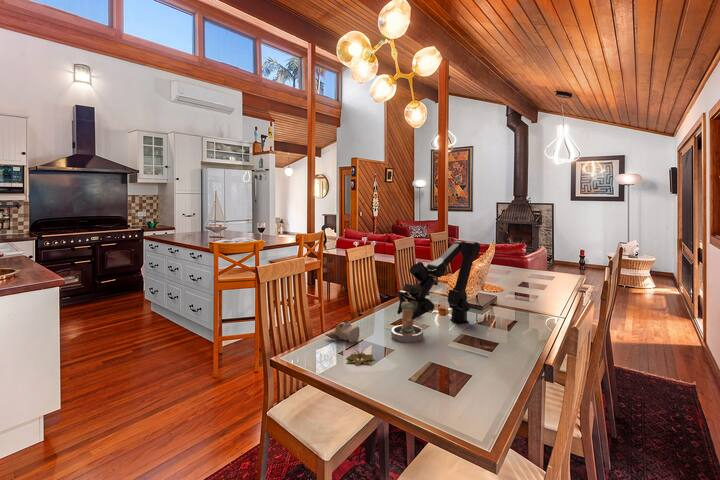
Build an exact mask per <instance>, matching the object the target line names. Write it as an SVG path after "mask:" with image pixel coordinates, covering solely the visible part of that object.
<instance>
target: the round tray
mask: <svg viewBox="0 0 720 480" xmlns="http://www.w3.org/2000/svg"><path fill="white" fill-rule="evenodd" d="M401 327H402V324H400V325H398V324H397V325H395V326H394V327H392V328H391V331H390V335H391V339H393V340H394V341H396V342H398V343H405V344H407V343H408V344H409V343H410V344H413V343H418V342H421V341H422V340H424V328H422V327H420V326H418V325H414V324H413V328H414V331H415V334H414V335H402V334H400V331H401Z"/></svg>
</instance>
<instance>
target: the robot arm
mask: <svg viewBox="0 0 720 480" xmlns="http://www.w3.org/2000/svg"><path fill="white" fill-rule="evenodd" d="M480 252H481V245H480V243H479V242H477V241H468V240H465V241H462V240H455V241H453V243H452V245H450V246H449V248H447V250H445V252H443V254H441V256H439V258H437V259H434V260H432V261H431V262H429V263H428V264H427V265H424V263H423V262H422V261H418V262H417V263H414V264H413V265H411V266H410V268H409V273H410V275H412V277H413V278H414V279H415V280H416V281H417V282H418V283H415V284H414V285H412V284H408V283H404V287H403V290H398V292H397V294H396V295H397V297H398V298H399V305H398V308H397V313H396V314H398V315H400V314H401V313H402V308H401V304H402V303H403V302H411V301H413V302H416V303H418V307H417V309H416V311H415V312H414V314H413V316H412V318H411V319H412V320H413V321H414V320H415V319H417V318H419V317H421V316H422V315H425V314H426V313H430V312H433V311H434V309H435V304H434V303H433V302H432V301H431V299H429V298H426V297H427V296H428V297H429V296H430V295H431V294H430V291H431V290H432V288H433V286H439V283H438V279H437V278H442V277H443V275H444V274H445V273H446V272H447V269H448V268H447V267H448V265H450V263H452V261H453V260H454V259H455V258H456V257H457V256H458V255H459V254H460V253H461V257H462V259H461V264H460V267H459V271H458V275H457V279H456V282H455V285H454V287H453V288H452V289H449V290H448V295H447V302H448V305H449V308H450V309H452V311H451V318H450V321H451V322H453V323H455V324H456V325H460V324H466V323H469V322H470V321H469V320H468V312H469V311H470V310H471V308H472V307H471V305H470V303H469V302H468V300H467V299H468V295H467V291H466V290H467V285H468V282H469V278H470V275H471V274H470V273H471V271H472V266H473V263H474V261H475V260H476V259H477V258H478V256H479V254H480ZM413 299H414V300H413Z"/></svg>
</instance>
